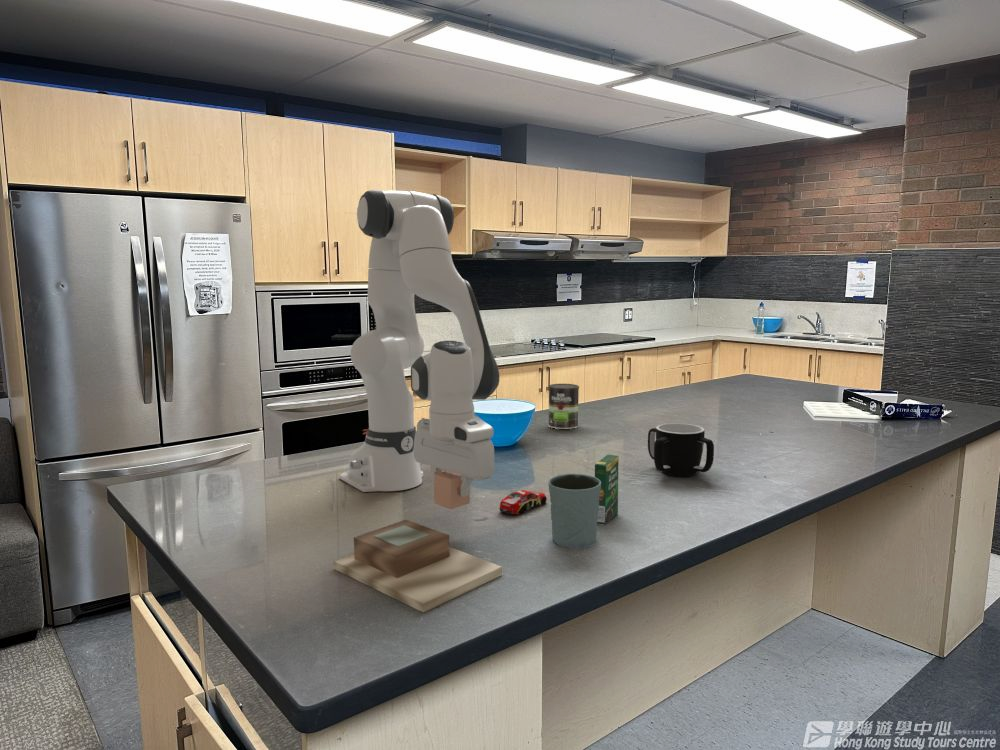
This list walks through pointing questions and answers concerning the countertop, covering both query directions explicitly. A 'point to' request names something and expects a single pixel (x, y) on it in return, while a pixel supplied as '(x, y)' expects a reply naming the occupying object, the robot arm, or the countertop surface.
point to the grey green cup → (574, 509)
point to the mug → (679, 449)
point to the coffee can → (563, 406)
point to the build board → (425, 579)
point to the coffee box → (607, 488)
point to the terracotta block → (448, 490)
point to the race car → (522, 501)
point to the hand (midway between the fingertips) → (452, 492)
